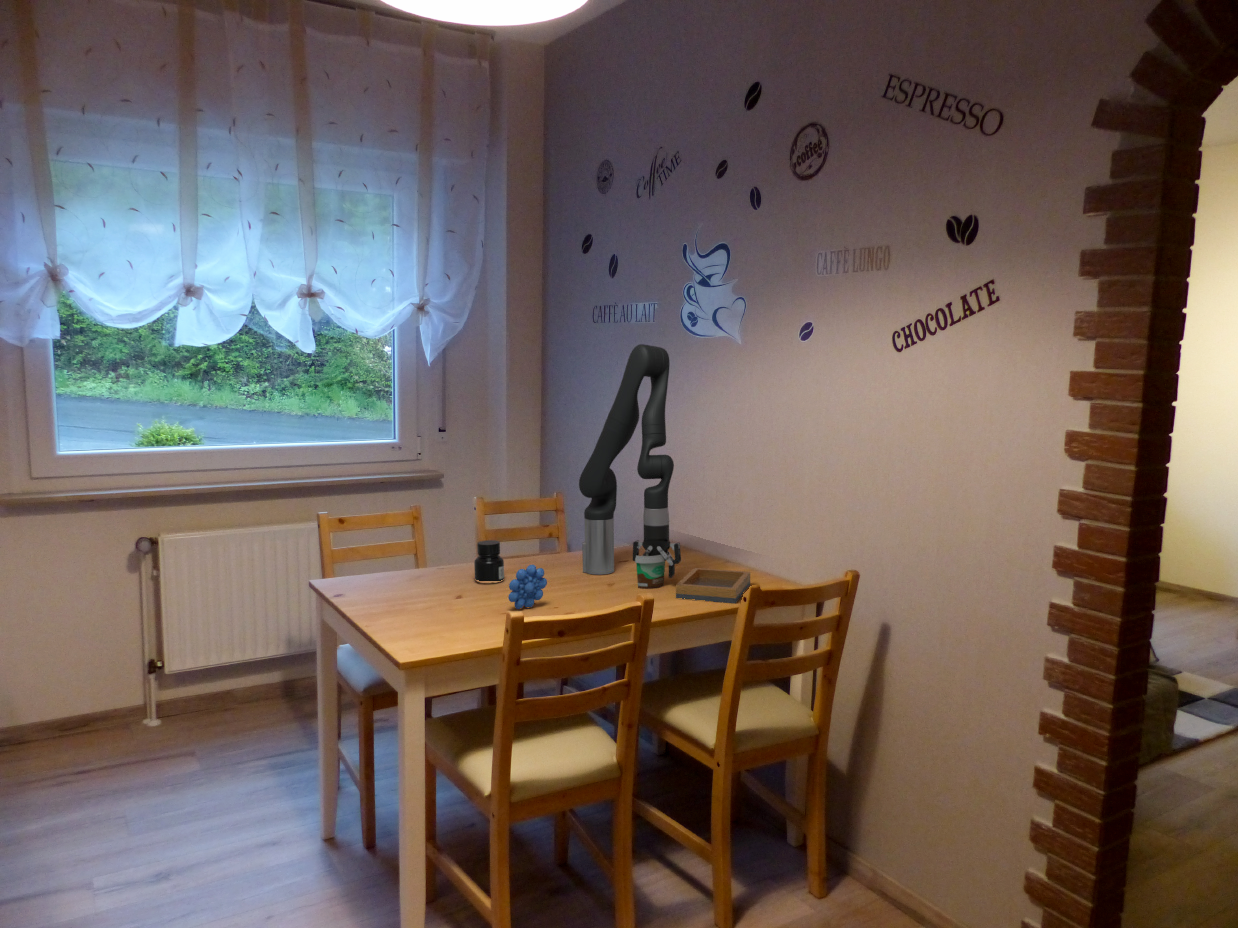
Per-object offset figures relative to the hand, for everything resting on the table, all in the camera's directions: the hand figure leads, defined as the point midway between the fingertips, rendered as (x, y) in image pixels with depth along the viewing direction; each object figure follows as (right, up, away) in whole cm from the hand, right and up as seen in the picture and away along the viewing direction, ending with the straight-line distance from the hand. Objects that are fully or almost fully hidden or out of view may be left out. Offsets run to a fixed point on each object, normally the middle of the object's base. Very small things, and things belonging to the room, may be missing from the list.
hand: (656, 576), depth 270 cm
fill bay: (+16, -4, -7) cm, 18 cm away
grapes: (-36, -6, -21) cm, 42 cm away
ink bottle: (-51, -3, +8) cm, 51 cm away
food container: (0, -3, 0) cm, 3 cm away
